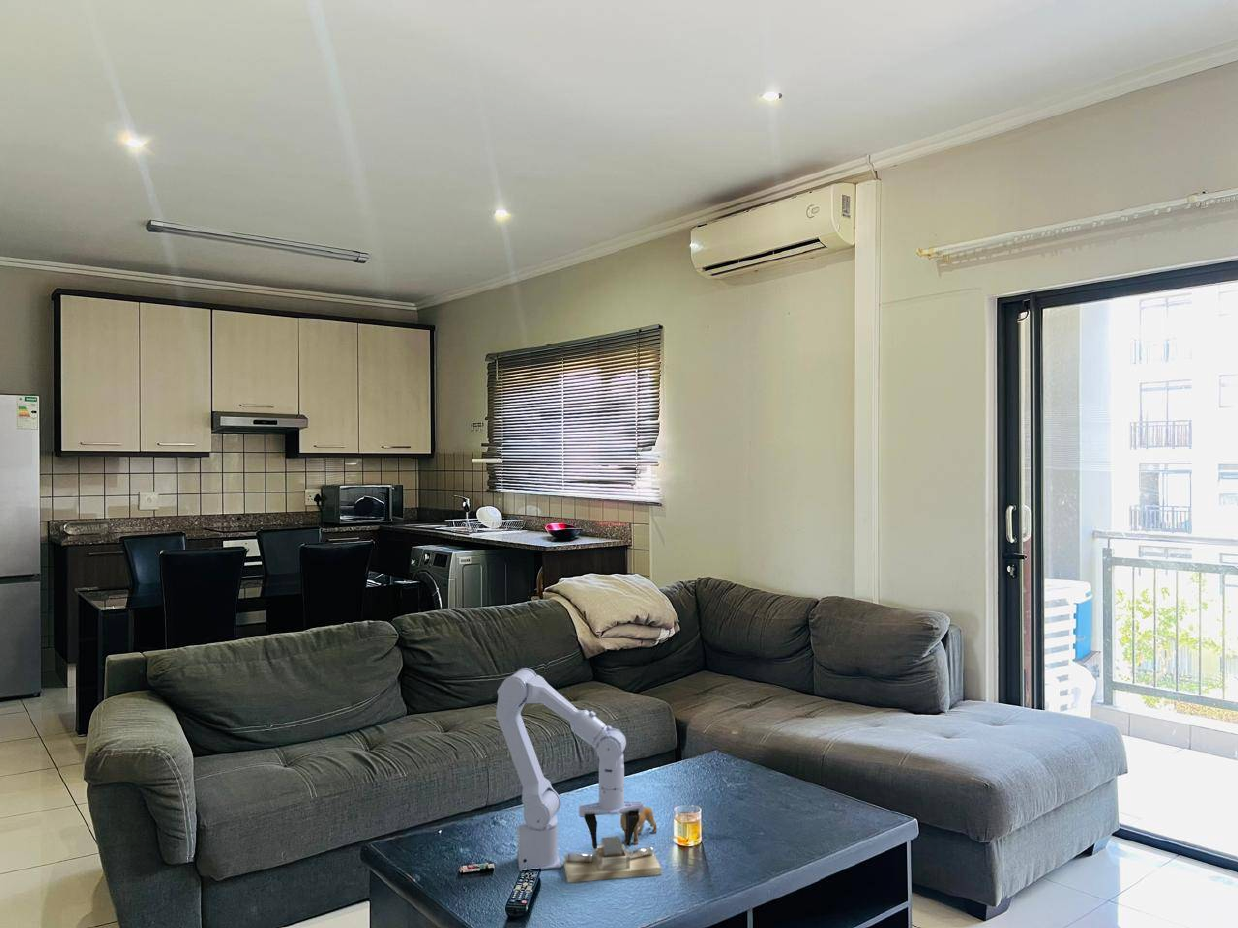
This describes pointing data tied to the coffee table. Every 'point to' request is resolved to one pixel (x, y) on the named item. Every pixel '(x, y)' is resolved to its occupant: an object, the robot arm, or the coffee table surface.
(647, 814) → the lion figurine
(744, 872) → the coffee table surface
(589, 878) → the shaft board
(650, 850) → the shaft right
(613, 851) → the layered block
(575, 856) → the shaft left
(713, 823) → the coffee table surface
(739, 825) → the coffee table surface
